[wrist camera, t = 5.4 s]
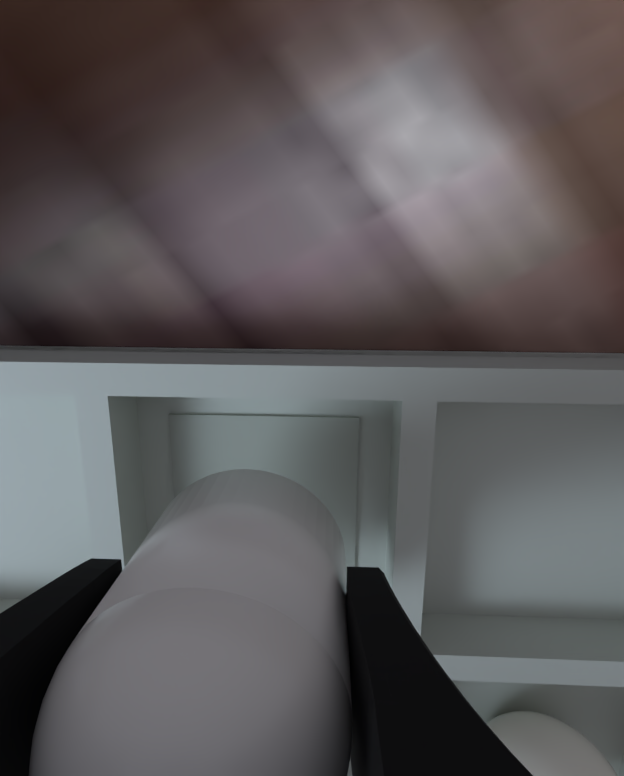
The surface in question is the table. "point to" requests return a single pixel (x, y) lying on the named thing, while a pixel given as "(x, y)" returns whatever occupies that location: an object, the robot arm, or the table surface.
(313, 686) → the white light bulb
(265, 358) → the egg tray
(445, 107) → the table surface
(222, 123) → the table surface
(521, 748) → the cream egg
